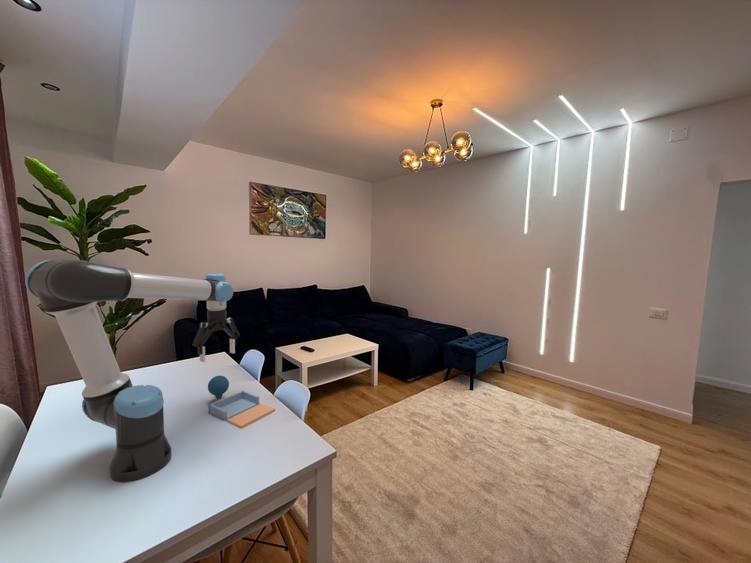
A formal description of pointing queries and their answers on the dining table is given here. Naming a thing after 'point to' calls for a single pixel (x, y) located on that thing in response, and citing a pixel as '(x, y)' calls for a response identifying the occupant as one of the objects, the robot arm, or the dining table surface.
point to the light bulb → (218, 386)
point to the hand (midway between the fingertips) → (218, 356)
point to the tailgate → (250, 415)
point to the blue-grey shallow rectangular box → (233, 405)
